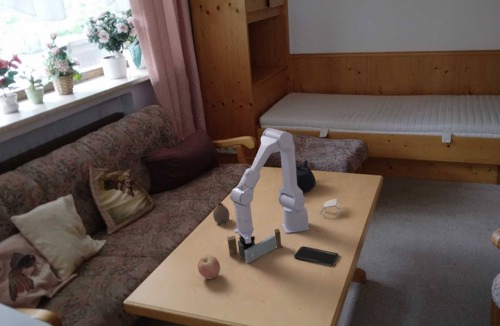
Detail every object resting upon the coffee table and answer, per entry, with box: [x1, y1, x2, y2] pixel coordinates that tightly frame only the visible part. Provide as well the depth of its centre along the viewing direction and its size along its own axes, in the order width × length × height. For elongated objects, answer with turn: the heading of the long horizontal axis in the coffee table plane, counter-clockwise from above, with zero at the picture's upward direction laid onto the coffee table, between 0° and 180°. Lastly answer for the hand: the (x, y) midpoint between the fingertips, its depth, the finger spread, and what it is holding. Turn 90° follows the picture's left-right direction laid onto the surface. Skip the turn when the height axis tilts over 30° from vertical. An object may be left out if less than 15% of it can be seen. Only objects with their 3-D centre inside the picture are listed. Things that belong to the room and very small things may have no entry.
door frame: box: [226, 228, 282, 257], centre depth 174 cm, size 20×2×7 cm, turn 99°
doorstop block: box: [237, 239, 256, 259], centre depth 173 cm, size 6×4×5 cm, turn 99°
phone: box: [293, 245, 340, 268], centre depth 167 cm, size 8×1×15 cm
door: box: [244, 234, 277, 264], centre depth 170 cm, size 14×2×5 cm, turn 130°
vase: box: [212, 202, 230, 225], centre depth 196 cm, size 7×7×9 cm
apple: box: [197, 254, 221, 280], centre depth 161 cm, size 8×8×8 cm
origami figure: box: [319, 198, 341, 217], centre depth 196 cm, size 12×8×5 cm
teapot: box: [296, 159, 316, 194], centre depth 220 cm, size 25×16×12 cm, turn 157°
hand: (247, 249), depth 173 cm, fingers closed on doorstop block, 4 cm apart
